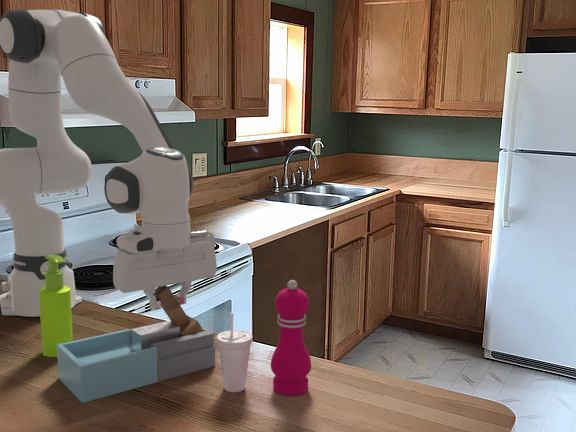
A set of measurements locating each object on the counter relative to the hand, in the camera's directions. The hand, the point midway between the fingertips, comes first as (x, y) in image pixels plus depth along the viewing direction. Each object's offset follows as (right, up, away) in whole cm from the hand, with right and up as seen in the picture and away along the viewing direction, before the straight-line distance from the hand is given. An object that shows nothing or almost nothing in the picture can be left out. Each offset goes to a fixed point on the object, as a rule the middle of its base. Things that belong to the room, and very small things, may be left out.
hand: (168, 306), depth 121 cm
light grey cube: (-4, -8, -2) cm, 9 cm away
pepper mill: (+23, -14, -7) cm, 28 cm away
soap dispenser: (-23, -10, +7) cm, 26 cm away
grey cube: (-1, -8, +1) cm, 8 cm away
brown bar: (+4, -6, +4) cm, 8 cm away
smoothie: (+13, -14, -7) cm, 20 cm away
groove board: (0, -11, +3) cm, 12 cm away
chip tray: (-10, -13, -5) cm, 17 cm away
